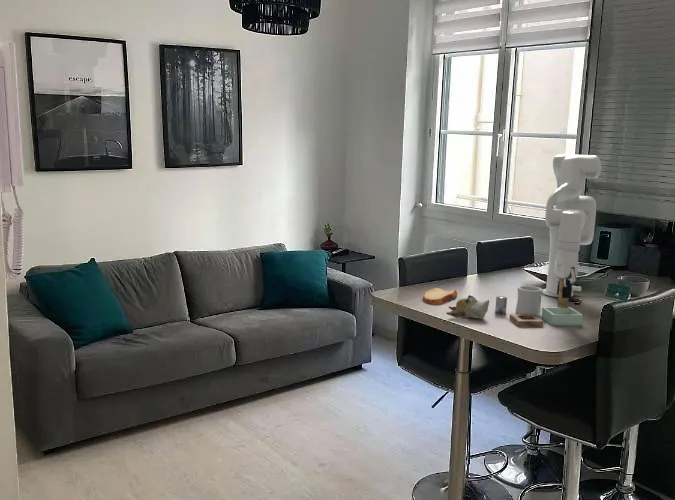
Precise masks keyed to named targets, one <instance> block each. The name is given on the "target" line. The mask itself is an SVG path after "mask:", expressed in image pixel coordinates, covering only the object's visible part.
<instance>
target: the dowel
mask: <svg viewBox="0 0 675 500" xmlns="http://www.w3.org/2000/svg"><path fill="white" fill-rule="evenodd" d="M568 278H570V277H568ZM568 281H569V280H567V282H568ZM563 287H564V279H563V278H561V277H560V285H559V296H558V297H557V305H556V307H559V308H564V309H566V308H569V301H570V300H569V299H570V298H562V289H563Z"/></svg>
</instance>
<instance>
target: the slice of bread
mask: <svg viewBox="0 0 675 500" xmlns="http://www.w3.org/2000/svg"><path fill="white" fill-rule="evenodd" d="M457 296H458V291H457V290H456V289H453V290H450V291H448V290H444V289H443V288H439V287H434V288H431V289H429V290H426V291H425V292H424V294H423V297H422V301H423V303H425V304H428V305H431V306H441V305H443V304H446V303H449V302H451V301H452V300H454V299H455V298H456V297H457Z"/></svg>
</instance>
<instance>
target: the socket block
mask: <svg viewBox="0 0 675 500" xmlns="http://www.w3.org/2000/svg"><path fill="white" fill-rule="evenodd" d="M509 320H510V321H511V322H512V323H513V324H514V325H516V326H517V327H518V328H519V327H521V328H522V327H523V328H525V327H527V328H539V327H541V328H543V326H544V320H543V319H542V318H540V317H538V316H535V315H534V314H517V313H509Z"/></svg>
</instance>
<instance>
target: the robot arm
mask: <svg viewBox="0 0 675 500" xmlns="http://www.w3.org/2000/svg"><path fill="white" fill-rule="evenodd" d="M552 169H553V174H554V176H555V179H556V184H557V185H556V189H555V190H554V191H553V192H552V193H551V194H550V196H549V197H548V199H547V200H546V203H545V204H546V206H545V217H544V219H545V220H544V221H545V224H546V226H547V227H548V228H549V231H548V232H549V253H548V254H549V255H548V265H547V266H548V267H547V276H546V277H547V278H546V287H545V288H542V295H545V296H548V297H553V298H558V296H559V285H560V277H561V278H563V279H564V287H563V289H562V298H569V299H571V298H572V297H574V292H575V291H576V292H581V291H582V286H579V285H578V286H576V285H574V284H575V283H576V279H577V278H578V271H579V252H580V248H581V246H588V245H591V244H592V242H593V240H594V237H595V226H596V216H597V215H596V214H597V201H596V199H595V198H594V197H593V196H590V195H589V196H588V195H582V193H583V192H584V179H590V180H592V179H593V180H594V179H595V180H596V179H598V178H599V177H600V175H601V172H602V162H601V159H600V158H599V156H598V155H594V154H577V153H574V154H573V153H563V154H562V153H561V154H557V155H554V157H553V160H552ZM568 277H570V278H568ZM567 280H569V281H568V282H567Z"/></svg>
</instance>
